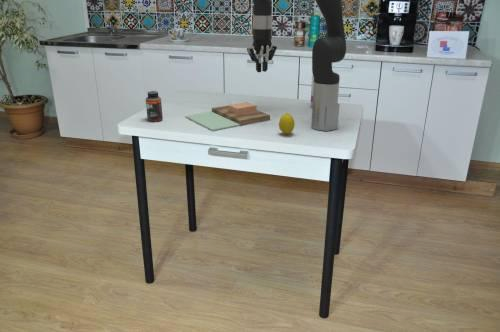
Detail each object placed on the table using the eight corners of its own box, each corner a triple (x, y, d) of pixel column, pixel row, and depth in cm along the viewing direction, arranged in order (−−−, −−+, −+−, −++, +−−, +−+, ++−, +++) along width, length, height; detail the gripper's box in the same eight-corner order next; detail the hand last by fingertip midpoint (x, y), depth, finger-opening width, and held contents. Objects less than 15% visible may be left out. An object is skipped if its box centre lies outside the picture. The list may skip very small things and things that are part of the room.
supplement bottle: (161, 117, 190) (159, 89, 186) (163, 121, 185) (161, 93, 181) (146, 118, 189) (144, 90, 184) (148, 122, 183) (146, 94, 179)
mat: (239, 125, 180) (239, 124, 180) (212, 131, 174) (212, 129, 173) (211, 112, 197) (211, 111, 197) (185, 117, 191) (185, 115, 190)
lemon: (293, 132, 173) (293, 111, 170) (294, 137, 168) (295, 115, 165) (278, 132, 173) (278, 111, 170) (279, 137, 168) (280, 115, 165)
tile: (256, 111, 192) (256, 105, 191) (237, 114, 187) (237, 108, 186) (246, 107, 197) (246, 101, 196) (228, 110, 192) (228, 104, 191)
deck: (270, 120, 187) (270, 115, 187) (240, 125, 180) (240, 120, 179) (239, 107, 204) (239, 103, 204) (211, 112, 197) (211, 108, 196)
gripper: (253, 29, 178) (252, 75, 185) (282, 27, 185) (281, 71, 192) (242, 27, 184) (242, 72, 191) (270, 25, 191) (270, 68, 198)
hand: (261, 71), depth 191 cm, fingers closed
